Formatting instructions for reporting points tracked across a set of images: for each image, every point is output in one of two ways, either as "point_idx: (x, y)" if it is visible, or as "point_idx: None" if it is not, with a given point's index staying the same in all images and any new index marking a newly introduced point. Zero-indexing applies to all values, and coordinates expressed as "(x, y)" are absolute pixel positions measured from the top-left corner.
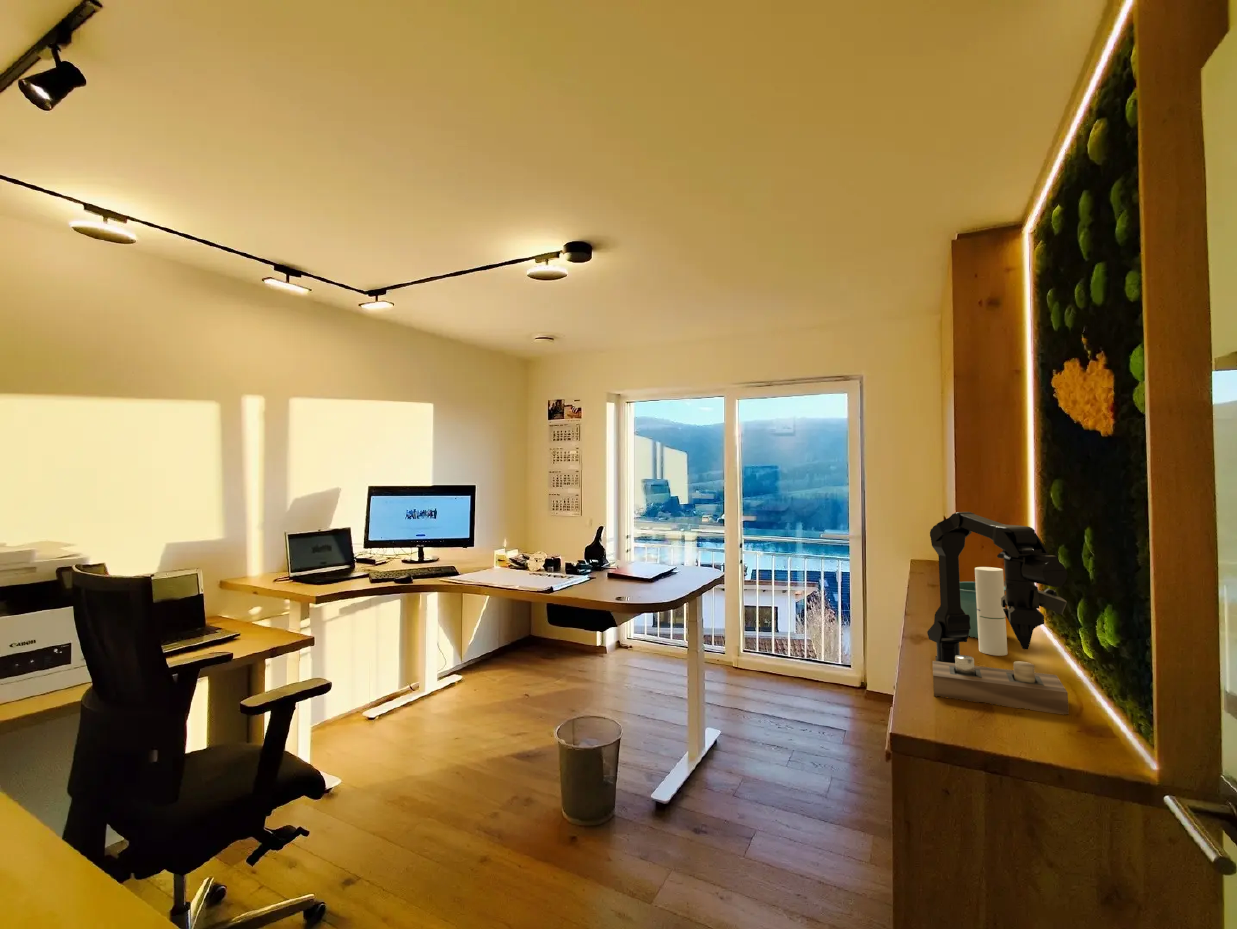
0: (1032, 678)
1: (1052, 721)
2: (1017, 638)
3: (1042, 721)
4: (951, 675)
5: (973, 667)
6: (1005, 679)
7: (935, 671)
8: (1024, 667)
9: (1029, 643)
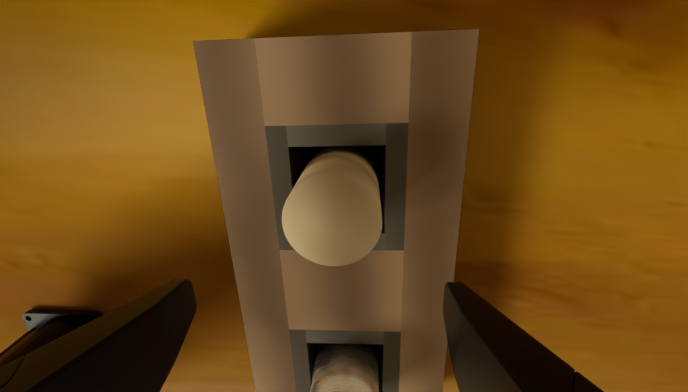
0: (369, 169)
1: (536, 105)
2: (188, 326)
3: (546, 137)
4: None
5: (359, 373)
6: (381, 261)
7: None
8: (381, 223)
9: (500, 314)
